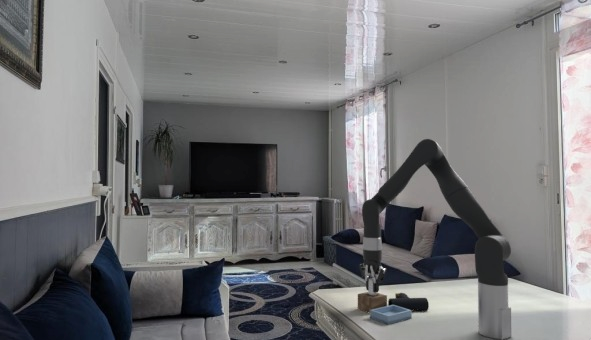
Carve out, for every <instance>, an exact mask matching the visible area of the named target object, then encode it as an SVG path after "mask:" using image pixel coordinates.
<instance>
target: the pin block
mask: <svg viewBox="0 0 591 340" xmlns="http://www.w3.org/2000/svg"><path fill="white" fill-rule="evenodd" d="M385 306H388V295H386V294H383V293H380V292H376V296H374V297H372V296H368V291H366V292H361V293H358V294H357V310H359V309H360V310H359V311H362V310H363V312H365V311H366V313H368V312H369V313H368V314H370V310H372V309H377V308H381V307H385Z"/></svg>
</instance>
